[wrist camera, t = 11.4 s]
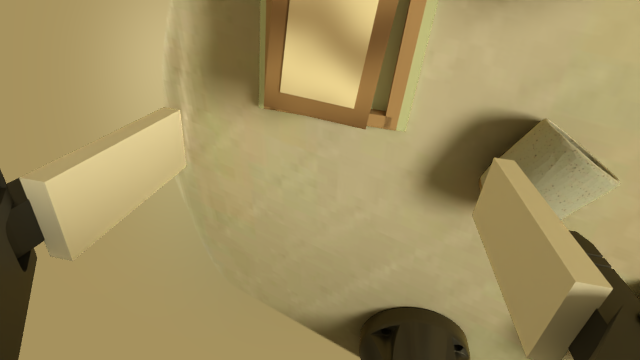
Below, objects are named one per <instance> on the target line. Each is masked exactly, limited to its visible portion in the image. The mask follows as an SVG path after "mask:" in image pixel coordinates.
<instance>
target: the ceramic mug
mask: <svg viewBox="0 0 640 360" xmlns="http://www.w3.org/2000/svg"><path fill="white" fill-rule="evenodd" d="M500 158H501V159H507V160H514V161H515V162H516V163H517V164H518V166H519V167H520V168H521V170H522V171H523V172H524V174H525V175H526V176H527V177H528V179H529V180H530V181H531V183H532V184H533V185H534V187H535V188H536V189H537V190H538V192H539V193H540V194H541V196H542V197H543V198H544V199H545V201H546V202H547V203H548V205H549V206H550V207H551V209H552V210H553V211H554V212H555V214H556V215H557V216H558V218H559V219H560V220H562V219H564V218H565V217H567V216H568V215H570V214H572V213H573V212H575V211H577V210H579V209H580V208H582V207H584V206H586V205H588V204H589V203H591V202H593V201H594V200H596V199H598V198H600V197H601V196H603V195H605V194H607V193H609V192H610V191H612V190H614V189H615V188H617V187H618V186H619V185H620V181H619V180H618V178H617V177H616V176H615V175H614V174H613V173H611V172H610V171H609V170H608V169H607V168H606V167H605V166H604V165H602V164H601V163H600V162H599V161H598V160H597V159H596V158H595V157H594V156H593V155H591V154H590V153H589V152H588V151H587V150H586V149H585V148H584V147H582V146H581V145H580V144H579V143H578V142H577V141H575V140H574V139H573V138H571V137H570V136H569V135H568V134H567V133H566V132H565V131H563V130H562V129H561V128H560V127H559V126H557V125H556V124H555V123H553V122H552V121H550V120H549V119H543V120H542V121H540V122H539V123H538V124H537V125H536V126H535V127H534V128H533V129H531V130H530V131H529V132H528V133H527V134H526V135H525V136H524V137H523V138H521V139H520V140H519V141H518V142H517V143H515V144H514V145H513V146H512V147H511V148H510V149H509V150H508V151H507V152H506V153H504V154H503V155H502V156H501V157H500ZM490 167H491V165H490V166H489V167H488V169H487V170H486V171H485V172H484V173H483V175H482V176H481V177H480V179H479V188H480V191H481V190H482V188H483V185H484V182H485V180H486V177H487V175H488V172H489V169H490Z"/></svg>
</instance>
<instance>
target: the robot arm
mask: <svg viewBox="0 0 640 360" xmlns="http://www.w3.org/2000/svg"><path fill="white" fill-rule="evenodd" d="M186 166H187V165H186V156H185V148H184V139H183V130H182V122H181V113H180V110H179V109H172V108H166V107H163V108H161V109H159V110H157V111H155V112H153V113H151V114H149V115H147V116H145V117H143V118H140V119H138V120H136V121H134V122H132V123H130V124H128V125H126V126H124V127H122V128H120V129H118V130H116V131H114V132H112V133H110V134H108V135H105V136H103V137H101V138H99V139H97V140H95V141H93V142H91V143H89V144H87V145H85V146H83V147H81V148H79V149H77V150H75V151H72V152H71V153H68V154H66V155H64V156H62V157H60V158H58V159H56V160H54V161H52V162H50V163H48V164H46V165H44V166H42V167H40V168H37V169H35V170H33V171H32V172H29V173H27V174H25V175H23V176H21V177H19V178H18V179H16V180H14V181H12V182H10V183H7V184H6V182H5V179H4V177H3V174H2V172H1V170H0V360H18V357H19V352H20V347H21V342H22V336H23V331H24V325H25V320H26V315H27V309H28V304H29V299H30V293H31V288H32V282H33V277H34V272H35V266H36V261H37V256H36V253H35V250H34V247H35V246H37V245H38V244H40V243H41V242H43V241H44V242H45V244H46V247H47V249H48V252H49V255H50V256H52V257H57V258H61V259H66V260H71V261H73V260H74V259H75V258H77V257H78V256H79V255H80V254H82V252H84V251H85V250H86V249H88V248H89V247H90V246H91V245H92V244H94V243H95V242H96V241H97V240H98V239H100V238H101V237H102V236H103V235H104V234H106V233H107V232H108V231H109V230H110V229H112V228H113V227H114V226H115V225H116V224H117V223H119V222H120V221H121V220H122V219H124V218H125V217H126V216H127V215H128V214H130V213H131V212H132V211H133V210H134V209H136V208H137V207H138V206H139V205H141V204H142V203H143V202H144V201H145V200H147V199H148V198H149V197H150V196H151V195H152V194H154V193H155V192H156V191H157V190H158V189H160V188H161V187H162V186H163V185H165V184H166V183H167V182H168V181H169V180H170V179H172V178H173V177H174V176H175V175H177V174H178V173H179V172H180V171H181V170H183V169H184V168H185V167H186ZM472 216H473V219H474V222H475V224H476V227H477V230H478V232H479V235H480V237H481V240H482V243H483V245H484V248H485V250H486V253H487V256H488V258H489V261H490V264H491V266H492V269H493V271H494V274H495V277H496V279H497V282H498V284H499V287H500V290H501V292H502V295H503V298H504V300H505V303H506V305H507V308H508V311H509V313H510V316H511V318H512V321H513V324H514V326H515V329H516V332H517V334H518V337H519V339H520V342H521V345H522V347H523V350H524V352H525V355H526V358H529V359H533V360H562V358H563V357H564V356H565V354H566V353H567V351H568V350H569V351H570V353H571V355H572V356H573V358H574V360H640V301H639V299H638V298H637V297H636V296H635V294H634V293H633V292H632V291H631V290H630V288H629V287H628V286H627V285H626V284H625V282H624V281H623V280H622V279H621V278H620V276H619V275H618V274H617V273H616V272H615V270H614V269H611V265H610V264H609V263H608V262H607V261H606V259H605V258H602V255H601V253H600V252H599V251H598V250H597V249H596V247H595V246H594V245H593V244H592V243H591V242H590V241H588V240H587V239H586V238H584V237H583V236H581V235H580V234H579V233H577V232H575V231H569V230H568V229H567V228H566V227H565V225H564V224H563V223H562V222H561V220H560V219H559V218H558V216H557V215H556V214H555V212H554V211H553V210H552V209H551V207H550V206H549V205H548V203H547V202H546V201H545V199H544V198H543V197H542V196H541V194H540V193H539V192H538V190H537V189H536V188H535V187H534V185H533V184H532V183H531V181H530V180H529V179H528V177H527V176H526V175H525V174H524V172H523V171H522V170H521V168H520V167H519V166H518V164H517V163H516V162H515V161H514V160H507V159H501V158H494V159H493V161H492V164H491V167H490V169H489V172H488V175H487V177H486V180H485V182H484V185H483V188H482V190H481V193H480V196H479V198H478V201H477V203H476V206H475V209H474V211H473V214H472ZM359 353H360V358H361V360H470V352H469V347H468V343H467V339H466V336H465V334H464V332H463V331H462V330H461V328H460V327H459V326H458V325H457V324H456V323H454V322H453V321H452V320H450V319H448V318H447V317H445V316H443V315H441V314H438V313H435V312H432V311H429V310H425V309H419V308H396V309H390V310H386V311H383V312H381V313H378V314H376V315H374V316H373V317H371V318H370V319H369V320H368V321H367V322H366V323H365V324H364V326H363V327H362V329H361V333H360V342H359Z"/></svg>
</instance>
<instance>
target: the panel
mask: <svg viewBox="0 0 640 360" xmlns="http://www.w3.org/2000/svg"><path fill="white" fill-rule="evenodd" d="M437 4H438V0H399V1H398V5H397V9H396V13H395V17H394V21H393V25H392V29H391V32H390V36H389V40H388V44H387V48H386V52H385V56H384V60H383V63H382V67H381V71H380V75H379V79H378V83H377V87H376V91H375V94H374V98H373V102H372V106H371V110H370V114H369V118H368V122H367V125H366V126H372V127H378V128H384V129H390V130H397V131H403V132H405V130H406V126H407V122H408V118H409V114H410V110H411V107H412V103H413V99H414V95H415V91H416V87H417V83H418V79H419V75H420V71H421V67H422V63H423V59H424V55H425V51H426V47H427V44H428V40H429V36H430V32H431V28H432V24H433V20H434V16H435V12H436V8H437ZM271 11H272V0H260V48H259V108H264V109H270V110H276V111H282V112H288V111H283V110H279V109H275V108H270V107H266V106H264V95H265V83H266V71H267V59H268V47H269V35H270V23H271ZM288 113H292V112H288ZM294 114H296V113H294ZM300 115H301V114H300Z"/></svg>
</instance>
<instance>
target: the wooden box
mask: <svg viewBox="0 0 640 360" xmlns="http://www.w3.org/2000/svg"><path fill="white" fill-rule="evenodd" d="M398 1H399V0H272V11H271V23H270V35H269V47H268V59H267V71H266V83H265V95H264V106H266V107H270V108H275V109H279V110H283V111H288V112H292V113H296V114H301V115H305V116H310V117H314V118H318V119H323V120H327V121H331V122H336V123H340V124H344V125H349V126H353V127H357V128H362V129H366V125H367V122H368V118H369V114H370V110H371V106H372V102H373V98H374V94H375V91H376V87H377V83H378V79H379V75H380V71H381V67H382V63H383V60H384V56H385V52H386V48H387V44H388V40H389V36H390V32H391V29H392V25H393V21H394V17H395V13H396V9H397V5H398Z"/></svg>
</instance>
